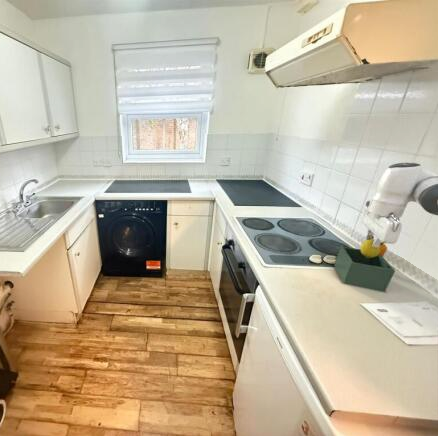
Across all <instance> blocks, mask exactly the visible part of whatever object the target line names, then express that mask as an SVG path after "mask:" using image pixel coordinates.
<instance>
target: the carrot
mask: <svg viewBox="0 0 438 436" xmlns="http://www.w3.org/2000/svg"><path fill="white" fill-rule="evenodd" d="M380 245H381V251H380V254H381V255H382V256H383V257H384V256H385V254H386V252H387V250H388V246H387V245H386V244H385V243H383V242H382V243H381V244H380Z"/></svg>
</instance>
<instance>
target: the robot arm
mask: <svg viewBox="0 0 438 436" xmlns="http://www.w3.org/2000/svg"><path fill="white" fill-rule="evenodd" d="M376 189H377V191H376V193H375V195H374V196H373V197H372V200H371V199H370V200H369V199H368V200H367V199H366V201H365V203H364V206H365V207H364V209H363V212H362V216H361V223H362V224H363V225H364V226H365V227H366V236H365V239H366V241H367V240H372V239H375V240H374V241H372V244H371V245H372V246H373V247H377V248H378V247H379V246H380V244H381V243H382V242H383V243H384V244H391V245H394V244H396V243H397V242H398V240H399V238H400V235H401V232H402V228H403V225H402V222H401V221H400V218H402V217H403V214H404V212H405V211H406V208H407V206H408V204H409V203H410V202H413V203H417V204H418V205H419V206H420V207H421V208H422V209H423V210H424V211H425V212H426V213H428V214H431V215H434V216H438V174H437V173H435V172H433V171H431V170H429V169H427V168H425V167H424V166H423V165H421V164H420V163H417V162H398V163H394V164H391V165H389V166H388V167H387V168H386V169H385V170H384V172H383V173H382V176H381V177H380V179H379V182H378V185H377V187H376Z"/></svg>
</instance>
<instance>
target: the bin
mask: <svg viewBox="0 0 438 436" xmlns="http://www.w3.org/2000/svg"><path fill="white" fill-rule="evenodd" d="M333 265H334V266H333V267H334V269H335V270H336V272H337V274H338V276H339V278H340V281H342V284H344V285H349V286H354V287H359V288H364V289H368V290H373V291H378V292H383V293H385V292H386V290H387V288H388V286H389V284H390V282H391V280H392V278H393V276H394V274H395V272H396V270H395V269H394V267H393V266H391V264H390V263H389V262H388V261H387V260H386V259H385V258H384V256H382V255H381V254H380V253H379V254H378V255H377V256H376V257H373V258H366V257H365V256H364V255H363V254H362V253H361V248H353V247H350V246H349V247H347V246H340V248H339V251H338V254H337V256H336V259H335V262H334V264H333Z"/></svg>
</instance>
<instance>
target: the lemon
mask: <svg viewBox="0 0 438 436" xmlns="http://www.w3.org/2000/svg"><path fill="white" fill-rule="evenodd" d="M375 239H376V238H374V239H372V240H367V239H366V240H364V241H363V243H362V244H361V246H360V249H361V253H362V254H363V255H364V256H365V257H366V258H373V257H376V256H377V255H378V254H379V253H380V251H381V245H380V246H379V247H378V248H377V247H373V246H372V245H371V244H372V241H374V240H375Z"/></svg>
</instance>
